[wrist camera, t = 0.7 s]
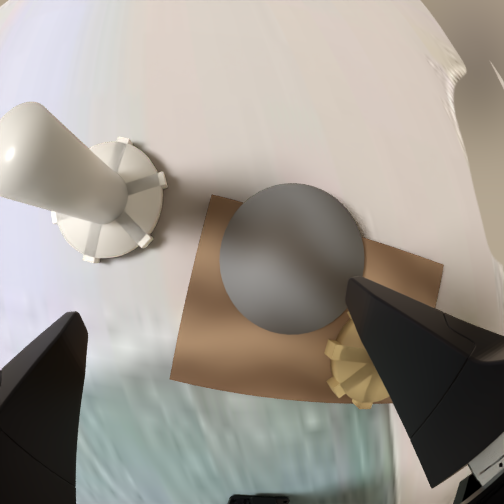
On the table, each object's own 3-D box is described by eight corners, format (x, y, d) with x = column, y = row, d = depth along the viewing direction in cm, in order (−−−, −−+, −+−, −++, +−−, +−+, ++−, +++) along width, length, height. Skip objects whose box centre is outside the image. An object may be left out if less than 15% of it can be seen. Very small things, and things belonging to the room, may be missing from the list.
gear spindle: (145, 275, 21) (66, 303, 8) (50, 247, 20) (-64, 242, 7) (178, 153, 21) (151, 48, 9) (83, 135, 20) (3, 54, 7)
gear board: (396, 397, 24) (419, 413, 20) (171, 371, 21) (165, 395, 17) (437, 240, 25) (466, 238, 21) (220, 168, 22) (222, 149, 18)
